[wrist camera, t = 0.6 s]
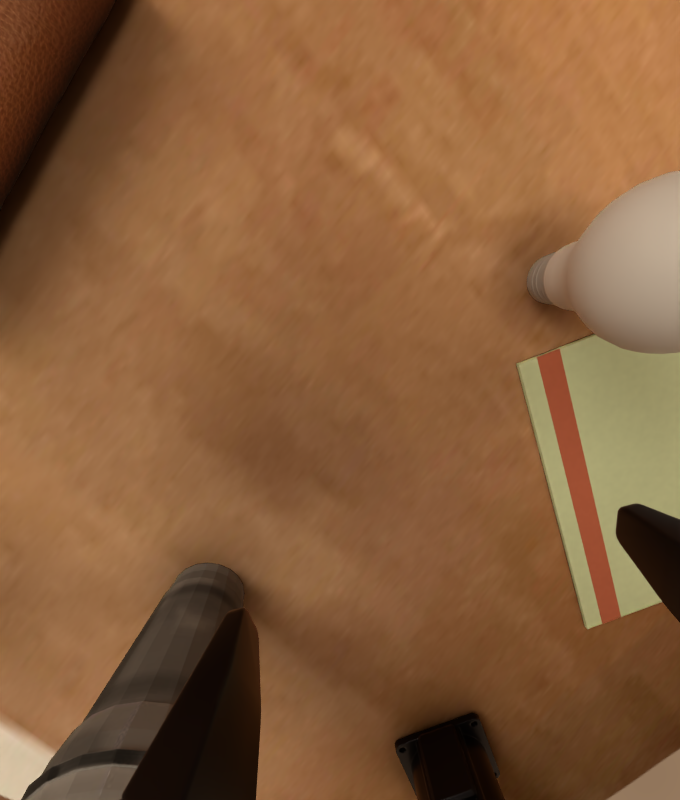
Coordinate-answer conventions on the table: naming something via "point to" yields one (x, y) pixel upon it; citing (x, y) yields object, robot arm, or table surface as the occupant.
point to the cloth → (605, 458)
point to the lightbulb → (623, 270)
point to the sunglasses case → (38, 69)
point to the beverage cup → (141, 689)
